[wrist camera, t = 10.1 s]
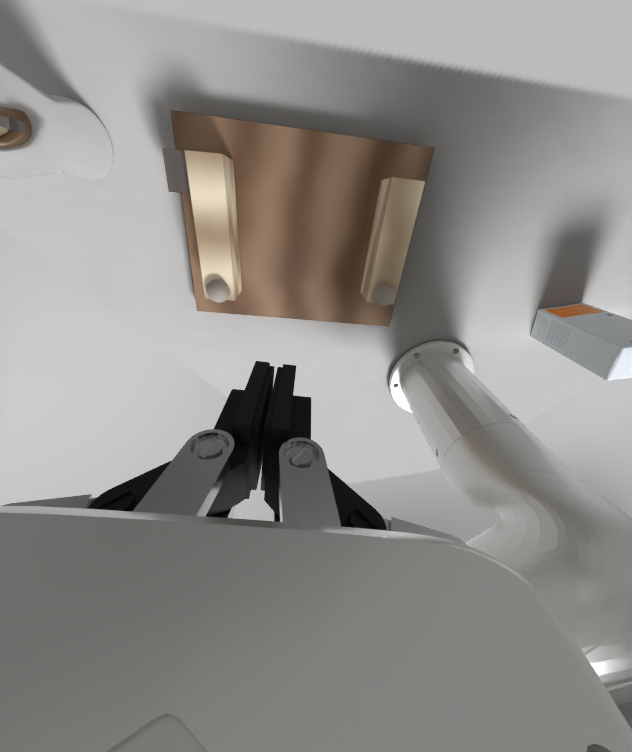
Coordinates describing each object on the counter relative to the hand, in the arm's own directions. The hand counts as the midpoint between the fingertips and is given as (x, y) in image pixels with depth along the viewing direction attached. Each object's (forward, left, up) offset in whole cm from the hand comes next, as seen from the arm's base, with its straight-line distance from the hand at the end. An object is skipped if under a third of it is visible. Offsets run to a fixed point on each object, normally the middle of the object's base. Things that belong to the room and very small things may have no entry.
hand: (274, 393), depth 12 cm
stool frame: (+2, -3, -25) cm, 26 cm away
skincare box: (-27, -25, -26) cm, 45 cm away
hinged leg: (+8, +3, -23) cm, 24 cm away
